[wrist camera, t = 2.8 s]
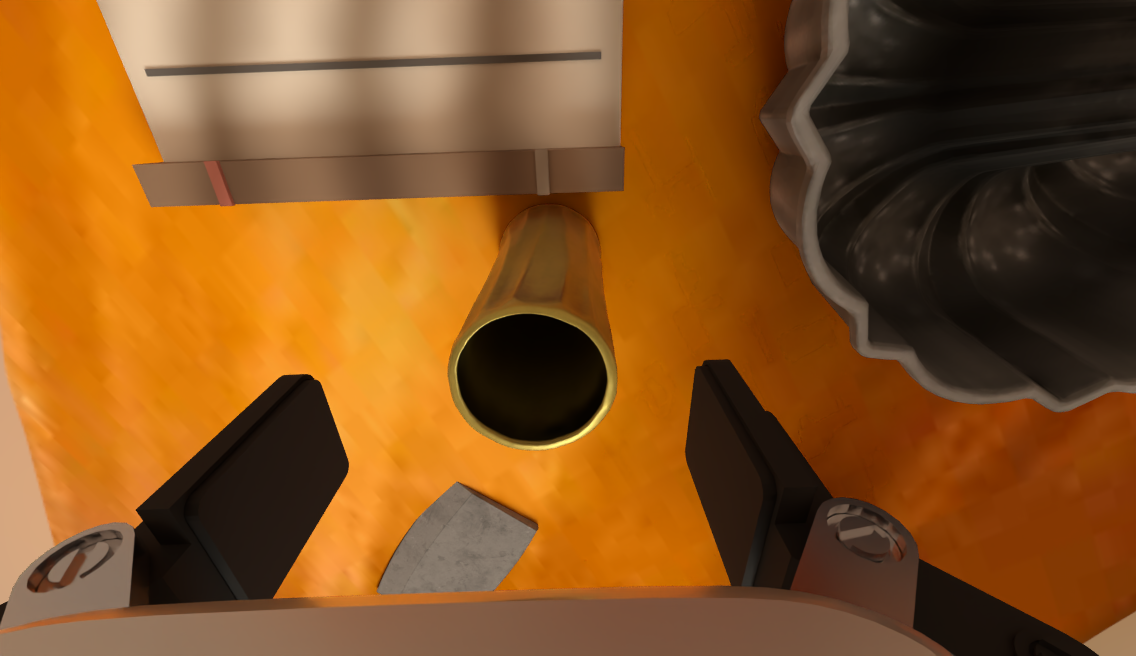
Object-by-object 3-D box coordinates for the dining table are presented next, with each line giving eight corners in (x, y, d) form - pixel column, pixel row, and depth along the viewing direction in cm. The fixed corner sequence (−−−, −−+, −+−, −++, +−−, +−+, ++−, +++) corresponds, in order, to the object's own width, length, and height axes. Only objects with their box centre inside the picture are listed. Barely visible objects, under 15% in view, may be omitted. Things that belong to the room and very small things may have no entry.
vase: (525, 314, 27) (487, 482, 14) (482, 226, 25) (390, 334, 12) (614, 281, 26) (658, 429, 13) (578, 186, 24) (591, 255, 11)
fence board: (620, -44, 19) (630, -74, 16) (617, 184, 24) (623, 192, 21) (109, -23, 20) (31, -49, 17) (198, 198, 24) (148, 208, 21)
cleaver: (421, 677, 47) (415, 701, 45) (334, 653, 44) (324, 677, 43) (548, 511, 36) (547, 533, 34) (442, 469, 34) (434, 489, 32)
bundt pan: (635, 254, 26) (673, 322, 17) (906, -447, 15) (1440, -1351, 6) (992, 363, 29) (1184, 470, 20) (1426, -140, 18) (2277, -405, 9)
